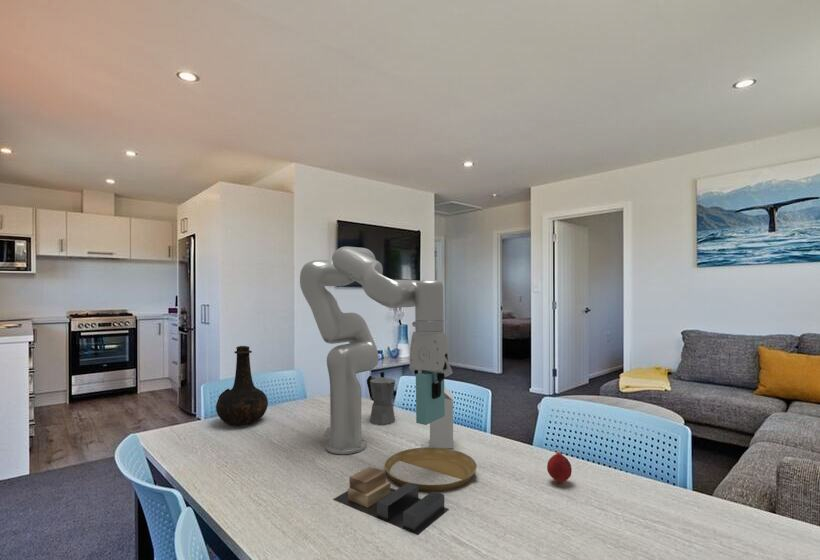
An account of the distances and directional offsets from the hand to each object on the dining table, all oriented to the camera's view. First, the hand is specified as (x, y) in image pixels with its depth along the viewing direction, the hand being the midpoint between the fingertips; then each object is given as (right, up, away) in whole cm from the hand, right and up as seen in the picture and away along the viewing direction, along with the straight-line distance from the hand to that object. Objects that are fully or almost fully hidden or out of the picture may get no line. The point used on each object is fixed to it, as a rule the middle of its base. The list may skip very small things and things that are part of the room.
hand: (430, 396), depth 113 cm
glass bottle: (-67, -22, +44) cm, 83 cm away
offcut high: (-15, -17, -13) cm, 26 cm away
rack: (-10, -21, -17) cm, 29 cm away
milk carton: (+5, -21, +21) cm, 30 cm away
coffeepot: (-16, -22, +45) cm, 53 cm away
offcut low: (-15, -20, -13) cm, 28 cm away
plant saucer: (0, -21, 0) cm, 21 cm away
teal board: (0, -6, 0) cm, 6 cm away
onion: (+32, -21, -5) cm, 39 cm away
